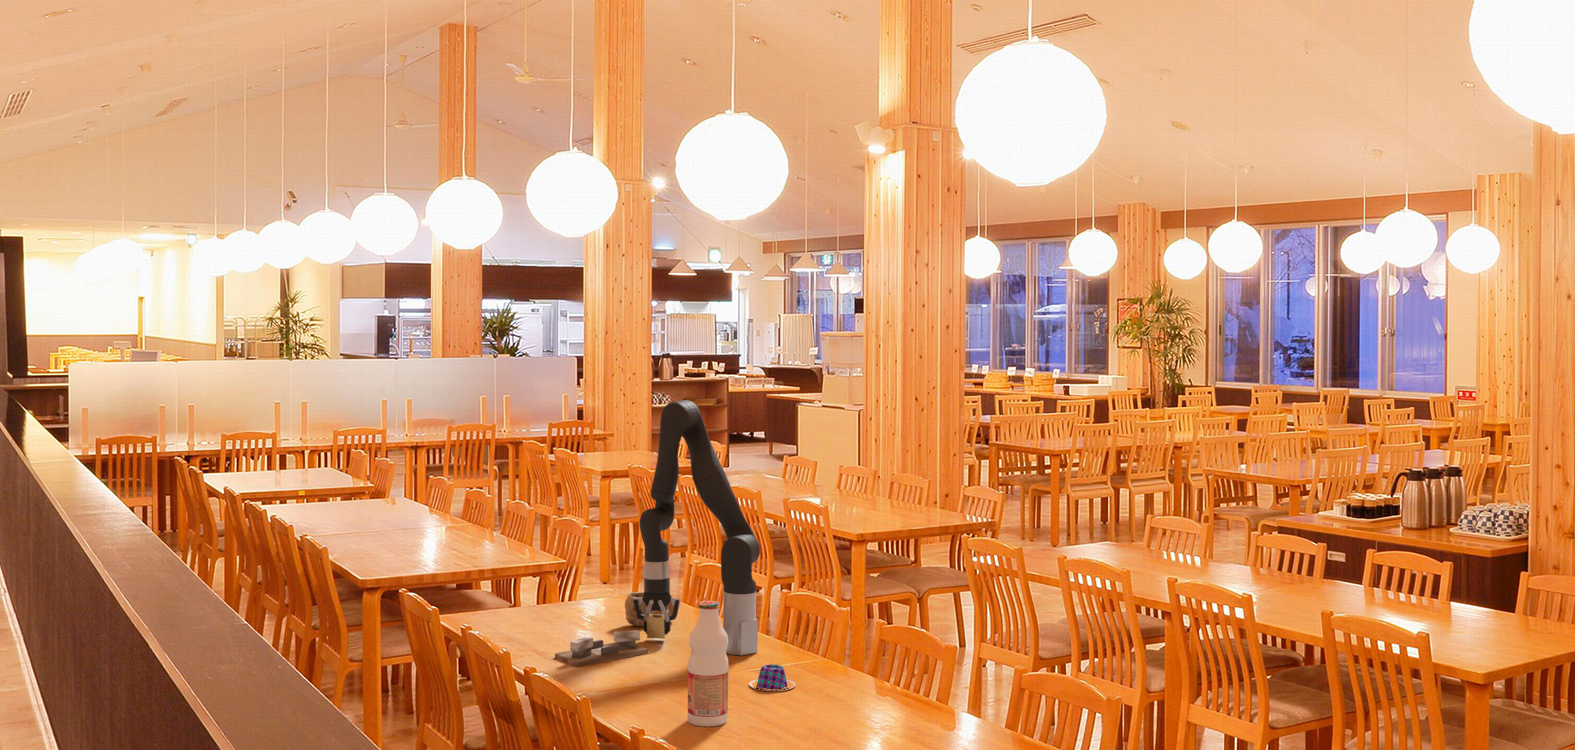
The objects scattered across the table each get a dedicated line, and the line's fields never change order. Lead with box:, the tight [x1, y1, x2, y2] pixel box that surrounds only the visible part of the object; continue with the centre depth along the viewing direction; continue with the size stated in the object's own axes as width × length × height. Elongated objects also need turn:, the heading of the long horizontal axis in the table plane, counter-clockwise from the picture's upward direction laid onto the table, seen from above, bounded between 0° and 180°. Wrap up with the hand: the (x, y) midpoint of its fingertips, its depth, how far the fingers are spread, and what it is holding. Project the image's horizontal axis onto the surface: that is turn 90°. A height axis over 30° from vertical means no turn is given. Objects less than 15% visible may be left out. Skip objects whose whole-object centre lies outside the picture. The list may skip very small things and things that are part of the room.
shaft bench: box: [554, 629, 649, 668], centre depth 355 cm, size 12×23×6 cm, turn 131°
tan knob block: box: [646, 614, 668, 640], centre depth 372 cm, size 5×5×6 cm
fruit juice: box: [687, 600, 729, 728], centre depth 297 cm, size 9×9×28 cm
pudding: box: [748, 663, 796, 692], centre depth 328 cm, size 12×12×5 cm
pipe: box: [624, 591, 674, 628], centre depth 393 cm, size 9×16×10 cm, turn 131°
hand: (657, 633), depth 372 cm, fingers closed on tan knob block, 5 cm apart
